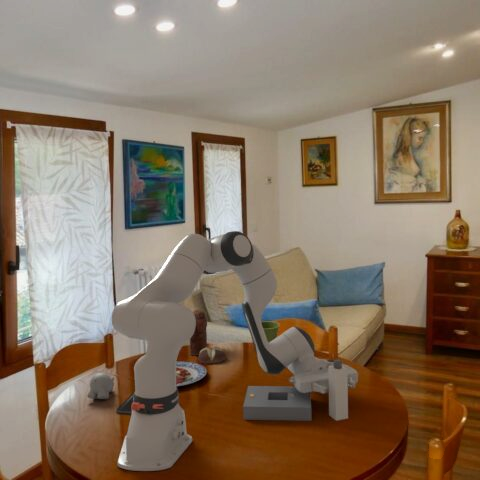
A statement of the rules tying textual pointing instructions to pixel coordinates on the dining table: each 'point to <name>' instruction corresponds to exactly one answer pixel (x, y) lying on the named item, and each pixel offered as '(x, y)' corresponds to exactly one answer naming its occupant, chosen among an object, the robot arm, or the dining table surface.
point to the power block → (276, 404)
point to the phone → (126, 406)
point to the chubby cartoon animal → (100, 386)
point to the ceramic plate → (188, 373)
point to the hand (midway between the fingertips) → (339, 388)
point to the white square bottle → (338, 391)
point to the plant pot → (270, 329)
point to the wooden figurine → (199, 333)
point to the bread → (211, 355)
